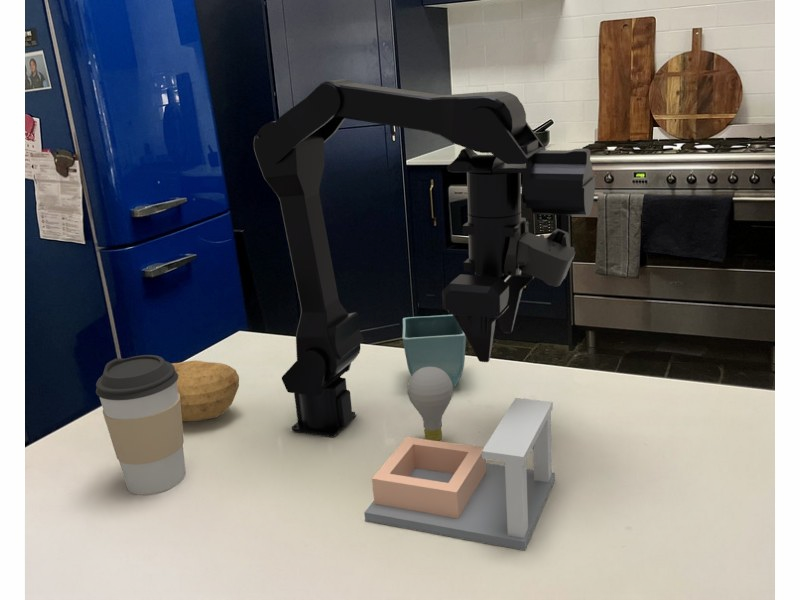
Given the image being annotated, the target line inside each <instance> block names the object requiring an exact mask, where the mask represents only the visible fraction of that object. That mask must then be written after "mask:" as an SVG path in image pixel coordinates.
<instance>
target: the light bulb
mask: <svg viewBox="0 0 800 600" xmlns="http://www.w3.org/2000/svg"><path fill="white" fill-rule="evenodd" d="M453 392H454V388H453V385H452V382H451V379H450V378H449V376H448V375H447V374H446V373H445V372H444V371H443V370H441V369H439V368H437V367H424V368H421V369H419V370H417V371H416V372H415V373H414V374H413V375H412V376H411V375H410V378H409V380H408V384H407V395H408V398H409V401H410V403H411V404H412V405H413V407H414V408H415V410H416V411H417V412H418V414H419V415H420V417H421V418H422V422H423V423H422V424H423V428H424V439H425V440H433V441H440V442H442V439H443V432H442V427H443V421H442V419H443V415H444V414H445V412H446V410H447V408H448V406H450V405H449V404H450V403H451V400H452V398H453V394H454V393H453Z"/></svg>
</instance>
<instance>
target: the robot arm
mask: <svg viewBox="0 0 800 600" xmlns="http://www.w3.org/2000/svg"><path fill="white" fill-rule="evenodd" d="M346 119H347V120H353V121H359V122H365V123H371V124H372V123H373V124H378V125H385V126H391V127H397V128H404V129H409V130H410V129H411V130H416V131H423V132H428V133H431V134H434V135H437V136H440V137H441V138H443V139H444V140H446V141H448V142H449V143H452V144H455V145H457V146H460V147H463V148H462V149H461V150H460V152H459V154H458V156H457V157H456V158H455V159H454V160H453V161H452V162H450V164H448V165H447V171H448V172H449V173H450V172H451V173H466V184H467V185H466V189H467V190H466V191H467V192H466V193H467V222H466V223H464V224H463V225H462V235H463V236H468V258H467V259H466V260H465V261H463V272H471V273H473V272H474V274H465V273H464V274H462V273H461V274H459V275H458V276H457V277H455V278H454V279H453V280H452V281H451V282H449V284H448V285H447V286H446V287H444V288H443V289H442V290H441V305H442V309H443V310H445V311H447V313H448V315H453V316H454V318H455V319H456V321H457V322H458V324H459V326H460V327H461V329H462V330H463V332H464V334H465V336H466V340H467V341H468V343H469V345H470V347H471V348H472V350H473V352H474V354H475V356H476V358H477V360H478V362H481V363H489V362H490V360H491V355H492V353H491V352H492V348H493V343H494V342H493V341H494V334H495V329H496V328H495V327H496V320H497V321H498V324H499V326H500V329H501V331H502V332H503V333H505V334H511V333H512V332H513V330H514V325H515V323H516V322H515V321H516V317H517V314H518V310H519V304H520V301H521V298H522V293H523V290H524V288H525V286H527V285H528V284H529V283H530V282H531V281H532V280H534V278H537V279H539V280H541V281H543V282H544V283H545V284H547V285H548V286H552V287H555V288H556V287H559V286H561V284H562V282H563V281H564V280H566V277H567V275H568V272H569V270H570V266H571V265H572V262H573V259H574V258H575V255H576V250H575V247H573V246H571V242H570V233H569V232H567V231H565V230H562V229H560V228H556V229H555V230H554V231H552V232H551V233H550V234H549V235H548V236H547V237H545V235H544V234H540V235H536V234H534V233H532V232H530V231H529V221H527V218H526V217H522V202H523V205H525V207H526V209H531V212H532V213H533V215H542V216H545V215H546V216H568V217H569V216H573V217H590V215H591V212H592V209H593V206H594V201H595V200H594V199H595V190H596V177H594V169H593V164H592V161H591V150H590V149H589V148H574V149H571V150H556V149H555V150H547V149H546V147H545V145H544V144H543V143H542V142H541V140H540V138H539V137H538V136H537V135H536V133H535V132H534V130H533V129H532V128H531V126H530V125H529V123H528V122H527V113H526V110H525V108H524V104H522V102H521V100H520V99H519V98H518V96H516V95H515V94H513V93H510V92H508V91H505V90H504V91H503V90H501V91H483V92H481V91H480V92H468V93H467V92H466V93H457V94H456V93H454V94H440V93H439V94H437V93H432V92H430V93H429V92H422V91H415V90H409V89H408V90H407V89H401V88H396V87H395V88H394V87H386V86H381V85H373V84H366V83H365V84H364V83H359V82H353V81H352V80H348V79H345V78H342V79H335V80H326V81H323V82H321V83H320V84H319V85H318V86H317V87H315V89H314V90H312V92H311V93H310V94H309V95H307V97H305V98H304V99H303V100H301V101H300V102H298V103H297V104H296V105H293V107H292V108H290V109H289V110H287V111H286V112H284V113H283V114H282V115H281V116H280V117H278V119H277V120H275V121H270V122H267V123H265V124H262V125H263V126H262V125H261V127H260V128H259V130H258V131H257V133H256V135H255V136H254V138H253V150H254V154H255V157H256V160H257V162H258V166H259V168H260V171H261V173H262V176H263V179H264V180H265V181H266V182H267V184H268V186H269V187H270V188H271V189H272V191H273V192H274V193H275V195H276V196H277V197H278V200H279V202H280V203H279V204H280V209H281V214H282V219H283V224H284V229H285V234H286V240H287V244H288V249H289V250H288V251H289V255H290V260H291V264H292V269H293V275H294V280H295V283H296V289H297V294H298V299H299V304H300V316H299V322H298V325H297V328H296V329H297V330H296V334H295V348H296V349H295V350H296V361H295V362H294V363H293V364H292V365H291V366H290V368H289V369H287V370H286V372H285V373H284V374H283V375H282V376H281V381H282V383H283V385H284V387H285V389H286V391H287V393H291V394H293V396H294V397H293V398H294V404H295V411H296V419H297V422H296V423H294V424H293V425H292V426H291V432H296V433H300V434H301V433H303V434H308V435H309V434H310V435H315V436H316V435H318V436H322V437H323V436H325V437H332V438H334V437H336V436H337V435H338V434H339V433H340V432H341V431H343V429H344V428H346V426H347V425H348V424H350V422H351V421H352V420H353V419H355V417H356V411H353V408H352V407H353V406H352V398H351V392H350V390H349V389H348V388H347V378H345V377H342V376H343V375H344V374H345V373H348V372H349V371H350V369H351V366H352V362H354V361H355V360H356V358H357V357H358V355H359V354H360V351H361V344H362V343H363V342H365V338H364V337H363V335H362V331H361V328H360V316H359V313H358V312H357V311H356V312H351V313H348V312H347V310H346V309H345V307H344V306H343V305H342V304H341V301H340V299H339V294H338V289H337V288H338V287H337V283H336V278H335V277H336V276H335V272H334V271H335V270H334V267H333V262H332V261H333V260H332V256H331V255H332V254H331V250H330V245H329V240H328V234H327V233H328V232H327V229H326V223H325V217H324V212H323V206H322V201H321V196H320V186H321V184H322V183H321V182H322V177H323V174H324V169H325V165H326V163H325V143H326V142H327V141H328V140H329V139H330V138H332V136H334V134H336V132H337V131H338V129H339V128H340V127H341V126H342V124H343V123H344V121H346ZM476 152H477V153H476ZM478 153H481V154H478ZM489 153H490V154H489ZM521 175H522V176H521ZM521 179H522V180H521Z"/></svg>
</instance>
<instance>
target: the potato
mask: <svg viewBox="0 0 800 600" xmlns="http://www.w3.org/2000/svg"><path fill="white" fill-rule="evenodd" d="M170 363H171V362H170ZM171 364H172V365H174V367H175V371H176V372H177V374H178V379H177V388H178V393H179V394H180V403H181V414H182V422H200V421H204V420H209V419H214V418H217V417H219V416H220V415H222V414H224V413H225V412H226V411H227V410H228V409H229V407H230V406H232V404H233V401H234V400H235V397H236V395H237V392H238V390H239V388H240V376H239V374H238V372H237V370H236V369H235V368H233V367H231V366H230V365H228V364H225V363H221V362H211V361H209V362H208V361H202V360H187V361H183V362H182V361H181V362H173V363H171Z"/></svg>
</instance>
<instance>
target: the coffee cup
mask: <svg viewBox="0 0 800 600" xmlns="http://www.w3.org/2000/svg"><path fill="white" fill-rule="evenodd" d="M177 379H178V374H177V372H176V371H175V367H174V365H172V364H171V362H170V361H166V360H165V359H164V358H163V357H162V356H159V355H154V354H143V355H136V356H131V357H127V358H118V357H117V358H114V359H112V360H110V361H108V362H107V363H106V364H105V366H104V370H103V373H102V375H101V376H100V377H99V378H98V379H97V381H96V384H95V386H96V390H95V394H96V396H98V398H99V400H100V404H101V407H102V415H103V419H104V421H105V424H106V428H107V431H108V433H109V438H110V441H111V444H112V446H113V450H114V454H115V456H116V459H117V460H118V462H119V466H120V469H121V472H122V475H123V478H124V482H125V485H126V489H127V490H128V491H129V492H130V493H132V494H134V495H138V496H140V495H141V496H148V495H155V494H160V493H163V492H165V491H166V492H167V491H168V490H170V489H172V488H174V487H176V486H177V485H179V484H180V483H181V482H182V481H183V480H184V479H185V477H186V463H185V455H184V454H185V452H184V442H185V440H184V426H183V421H182V414H181V403H180V394H179V393H178V388H177Z"/></svg>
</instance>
